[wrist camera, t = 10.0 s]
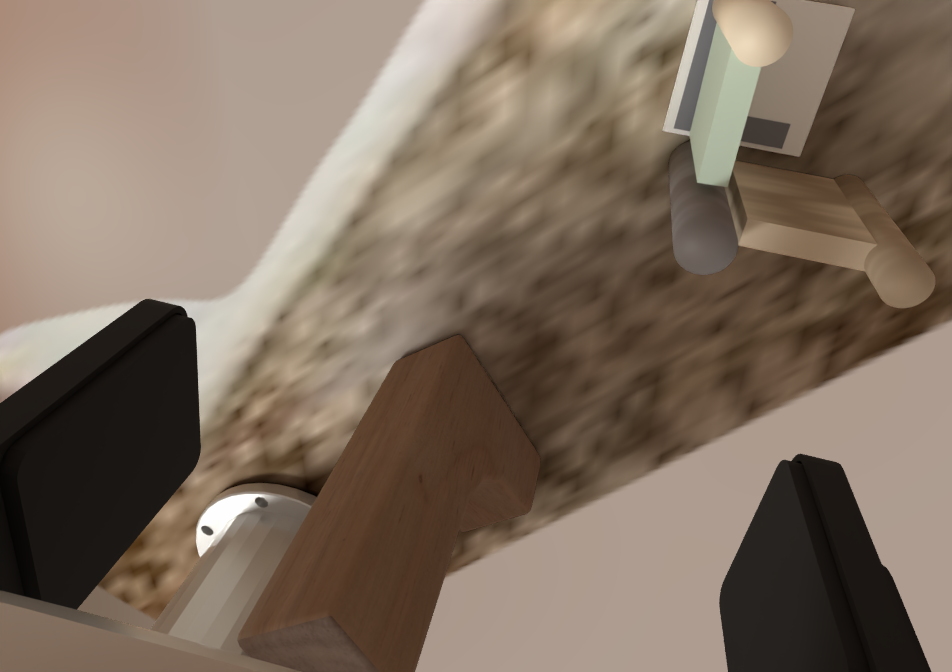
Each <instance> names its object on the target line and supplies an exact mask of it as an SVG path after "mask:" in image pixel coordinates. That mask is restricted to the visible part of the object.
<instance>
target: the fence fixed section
mask: <svg viewBox="0 0 952 672" xmlns="http://www.w3.org/2000/svg"><path fill="white" fill-rule="evenodd" d="M668 169H669V186H670V204H671V221H672V238H673V252H674V256H675V259H676V260H677V262H678V263H679V265H680V266H681V267H682V268H684V269H685V270H687V271H688V272H691V273H694V274H698V275H709V274H714V273H717V272H719V271H721V270H723V269H725V268H726V267H727V266H728V265H729V264H730V263H731V262H732V261H733V259H734V258H735V256H736V254H737V250H738V246H743V247H748V248H753V249H758V250H763V251H767V252H772V253H777V254H782V255H787V256H792V257H797V258H802V259H807V260H811V261H816V262H821V263H826V264H831V265H836V266H841V267H846V268H851V269H855V270H860V271H865V272H866V274H867V276H868V277H869V279H870V281H871V282H872V284H873V286H874V288H875V289H876V291H877V293H878V294H879V296H880V298H881V299H882V300H883V301H884V302H885V303H886V304H887V305H889V306H892V307H895V308H909V307H913V306H916V305H918V304H920V303H922V302H923V301H925V300H926V299H927V298H928V297H929V296H930V295H931V293H932V292H933V290H934V287H935V276H934V273H933V272H932V270H931V269H930V268H929V266H928V265H927V264H926V263H925V261H924V260H923V259H922V257H921V256H920V255H919V254H918V252H917V251H916V250H915V248H914V247H913V246H912V245H911V243H910V242H909V241H908V239H907V238H906V237H905V235H904V234H903V233H902V232H901V230H900V229H899V228H898V226H897V225H896V224H895V223H894V221H893V220H892V219H891V217H890V216H889V215H888V214H887V212H886V211H885V210H884V208H883V207H882V206H881V204H880V203H879V202H878V201H877V199H876V198H875V197H874V195H873V194H872V193H871V192H870V190H869V189H868V188H867V186H866V185H865V184H864V183H863V181H862V180H861V179H860V178H858V177H856V176H853V175H842V176H839V177H837V178H835V179H830V178H825V177H820V176H814V175H809V174H804V173H799V172H794V171H788V170H783V169H778V168H773V167H768V166H762V165H757V164H752V163H747V162H742V161H736V160H735V163H734V166H733V170H732V173H731V177H730V180H729V184H728V187H723V186H716V185H709V184H703V183H697V179H696V172H695V166H694V160H693V154H692V148H691V141H688V142H685V143H683V144H681V145H680V146H678V147H677V148H676V149H675V150H674V151H673V153H672V154H671V156H670V159H669V163H668Z"/></svg>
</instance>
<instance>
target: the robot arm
mask: <svg viewBox="0 0 952 672" xmlns="http://www.w3.org/2000/svg"><path fill="white" fill-rule="evenodd" d="M200 450H201V443H200V418H199V394H198V369H197V344H196V326H195V322H194V320H193V319H192V318H189V317H187V313H186V311H185V309H184V308H183V307H181V306H177V305H173V304H169V303H165V302H160V301H156V300H152V299H145V300H143V301H141V302H139V303H138V304H137V305H135V306H134V307H133V308H131V309H130V310H128V311H127V312H126V313H124V314H123V315H122V316H120V317H119V318H117V319H116V320H115V321H113V322H112V323H110V324H109V325H108V326H106V327H105V328H104V329H102V330H101V331H99V332H98V333H97V334H95V335H94V336H92V337H91V338H90V339H88V340H87V341H86V342H84V343H83V344H81V345H80V346H79V347H77V348H76V349H75V350H73V351H72V352H70V353H69V354H68V355H66V356H65V357H63V358H62V359H61V360H59V361H58V362H57V363H55V364H54V365H52V366H51V367H50V368H48V369H47V370H46V371H44V372H43V373H41V374H40V375H39V376H37V377H36V378H34V379H33V380H32V381H30V382H29V383H28V384H26V385H25V386H23V387H22V388H21V389H19V390H18V391H16V392H15V393H14V394H12V395H11V396H10V397H8V398H7V399H5V400H4V401H3V402H1V403H0V672H301V671H297V670H294V669H290V668H286V667H283V666H279V665H276V664H272V663H269V662H265V661H261V660H258V659H254V658H251V657H249V656H248V655H247V654H246V653H245V652H244V650H243V649H242V648H241V647H240V646H239V643H238V641H237V639H238V634H239V632H240V630H241V629H242V627H243V625H244V623H245V622H246V620H247V618H248V617H249V615H250V613H251V611H252V610H253V608H254V606H255V604H256V603H257V601H258V599H259V597H260V596H261V594H262V592H263V590H264V589H265V587H266V585H267V583H268V582H269V580H270V578H271V577H272V575H273V573H274V571H275V570H276V568H277V566H278V564H279V563H280V561H281V559H282V557H283V556H284V554H285V552H286V550H287V549H288V547H289V545H290V543H291V542H292V540H293V538H294V537H295V535H296V533H297V531H298V530H299V528H300V526H301V524H302V523H303V521H304V519H305V517H306V516H307V514H308V512H309V510H310V509H311V507H312V505H313V503H314V502H315V500H316V498H317V497H316V496H314V495H311V494H309V493H306V492H304V491H301V490H298V489H296V488H291V487H287V486H283V485H279V484H268V483H251V484H243V485H239V486H236V487H232V488H229V489H227V490H226V491H224V492H222V493H220V494H219V495H217V496H216V497H215V498H214V499H213V500H212V501H211V502H210V503H209V505H208V506H207V508H206V509H205V511H204V512H203V513H202V515H201V516H200V518H199V521H198V523H197V527H196V544H197V549H198V553H199V555H200V559H199V561H198V562H197V563H196V565H195V566H194V568H193V569H192V571H191V572H190V573H189V575H188V576H187V578H186V579H185V581H184V582H183V583H182V585H181V586H180V588H179V589H178V591H177V592H176V593H175V595H174V596H173V598H172V599H171V601H170V602H169V603H168V605H167V606H166V608H165V609H164V611H163V612H162V613H161V615H160V616H159V618H158V619H157V620H156V622H155V624H154V625H153V626H152V628H151V629H150V630H149V629H145V628H141V627H138V626H134V625H131V624H127V623H123V622H119V621H116V620H112V619H109V618H105V617H101V616H98V615H94V614H90V613H87V612H83V611H79V610H77V609H78V607H79V606H80V605H81V604H82V603H83V601H84V600H85V599H86V598H87V597H88V595H89V594H90V593H91V592H92V591H93V589H94V588H95V587H96V586H97V585H98V584H99V582H100V581H101V580H102V579H103V578H104V576H105V575H106V574H107V573H108V572H109V570H110V569H111V568H112V567H113V566H114V564H115V563H116V562H117V561H118V560H119V558H120V557H121V556H122V555H123V554H124V552H125V551H126V550H127V549H128V548H129V546H130V545H131V544H132V543H133V542H134V541H135V539H136V538H137V537H138V536H139V535H140V533H141V532H142V531H143V530H144V529H145V527H146V526H147V525H148V524H149V523H150V521H151V520H152V519H153V518H154V517H155V515H156V514H157V513H158V512H159V511H160V509H161V508H162V507H163V506H164V505H165V503H166V502H167V501H168V500H169V499H170V498H171V496H172V495H173V494H174V493H175V492H176V490H177V489H178V488H179V487H180V486H181V484H182V483H183V482H184V481H185V480H186V478H187V477H188V476H189V475H190V474H191V472H192V471H193V470H194V468H195V466H196V464H197V462H198V460H199V456H200ZM719 604H720V614H721V621H722V629H723V636H724V644H725V652H726V659H727V667H728V672H931V670H930V667H929V665H928V663H927V660H926V658H925V656H924V653H923V650H922V648H921V645H920V643H919V641H918V638H917V636H916V634H915V631H914V628H913V626H912V624H911V621H910V619H909V617H908V614H907V612H906V609H905V607H904V604H903V602H902V599H901V597H900V594H899V592H898V590H897V587H896V585H895V582H894V580H893V577H892V576H891V574H890V572H889V571H888V569H887V568H886V567H884V566H883V565H882V564H881V562H880V559H879V557H878V554H877V552H876V549H875V547H874V544H873V542H872V539H871V537H870V534H869V532H868V529H867V527H866V524H865V522H864V519H863V517H862V515H861V512H860V510H859V507H858V504H857V502H856V499H855V497H854V495H853V492H852V490H851V487H850V485H849V482H848V480H847V477H846V475H845V472H844V470H843V468H842V466H841V465H840V464H839V463H837V462H833V461H829V460H825V459H820V458H816V457H812V456H808V455H803V454H798V455H796V456H795V457H794V458H793V460H792V461H787V460H782V461H781V462H780V463H779V465H778V466H777V468H776V470H775V473H774V475H773V477H772V479H771V481H770V483H769V485H768V487H767V490H766V492H765V494H764V496H763V498H762V500H761V502H760V505H759V507H758V509H757V511H756V513H755V515H754V517H753V520H752V522H751V524H750V526H749V528H748V530H747V532H746V534H745V537H744V539H743V541H742V543H741V545H740V548H739V550H738V552H737V554H736V556H735V558H734V560H733V562H732V564H731V567H730V569H729V571H728V573H727V575H726V577H725V580H724V582H723V584H722V588H721V592H720V602H719Z"/></svg>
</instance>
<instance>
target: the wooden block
mask: <svg viewBox="0 0 952 672" xmlns="http://www.w3.org/2000/svg"><path fill="white" fill-rule="evenodd" d="M540 463H541V461H540V456H539V454H538V453H537V451H536V450H535V448H534V447H533V445H532V443H531V442H530V440H529V439H528V437H527V436H526V434H525V433H524V431H523V430H522V428H521V426H520V425H519V423H518V422H517V420H516V419H515V417H514V416H513V414H512V412H511V411H510V409H509V408H508V406H507V405H506V403H505V402H504V400H503V399H502V397H501V395H500V394H499V392H498V391H497V389H496V388H495V386H494V385H493V383H492V382H491V380H490V378H489V377H488V375H487V374H486V372H485V371H484V369H483V368H482V366H481V364H480V363H479V361H478V360H477V358H476V357H475V355H474V354H473V352H472V351H471V349H470V347H469V346H468V344H467V343H466V341H465V340H464V338H463V337H462V336H460V335H456V336H453V337H451V338H448V339H446V340H444V341H441V342H439V343H437V344H435V345H432V346H430V347H428V348H425V349H423V350H421V351H418V352H416V353H414V354H411V355H409V356H407V357H405V358H402V359H400V360H398V361H396V362H395V363H394V364H393V366H392V368H391V370H390V371H389V373H388V375H387V376H386V378H385V380H384V382H383V383H382V385H381V387H380V389H379V390H378V392H377V394H376V395H375V397H374V399H373V401H372V402H371V404H370V406H369V408H368V409H367V411H366V413H365V415H364V416H363V418H362V420H361V422H360V423H359V425H358V427H357V429H356V430H355V432H354V434H353V435H352V437H351V439H350V441H349V442H348V444H347V446H346V448H345V449H344V451H343V453H342V455H341V456H340V458H339V460H338V462H337V463H336V465H335V467H334V469H333V470H332V472H331V474H330V476H329V477H328V479H327V481H326V483H325V484H324V486H323V488H322V490H321V491H320V493H319V495H318V497H317V498H316V500H315V502H314V503H313V505H312V507H311V509H310V510H309V512H308V514H307V516H306V517H305V519H304V521H303V523H302V524H301V526H300V528H299V530H298V531H297V533H296V535H295V537H294V538H293V540H292V542H291V543H290V545H289V547H288V549H287V550H286V552H285V554H284V556H283V557H282V559H281V561H280V563H279V564H278V566H277V568H276V570H275V571H274V573H273V575H272V577H271V578H270V580H269V582H268V583H267V585H266V587H265V589H264V590H263V592H262V594H261V596H260V597H259V599H258V601H257V603H256V604H255V606H254V608H253V610H252V611H251V613H250V615H249V617H248V618H247V620H246V622H245V623H244V625H243V627H242V629H241V630H240V632H239V634H238V639H237V641H238V643H239V646H240V647H241V648H242V649H243V650H244V652H245V653H246V654H247V655H248V656H249V657H251V658H254V659H258V660H261V661H265V662H269V663H272V664H276V665H279V666H283V667H286V668H290V669H294V670H297V671H301V672H415V670H416V667H417V663H418V660H419V657H420V654H421V651H422V648H423V644H424V641H425V638H426V635H427V631H428V629H429V625H430V622H431V619H432V616H433V613H434V609H435V606H436V603H437V600H438V597H439V594H440V590H441V587H442V584H443V581H444V578H445V574H446V571H447V568H448V565H449V562H450V559H451V555H452V552H453V549H454V546H455V543H456V539H457V536H458V533H459V531H461V532H466V531H470V530H473V529H477V528H480V527H483V526H487V525H490V524H494V523H497V522H500V521H504V520H507V519H511V518H514V517H517V516H521V515H524V514H526V513H528V512H529V511H530V510H531V507H532V502H533V497H534V492H535V487H536V482H537V477H538V473H539V468H540Z"/></svg>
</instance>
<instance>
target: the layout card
mask: <svg viewBox="0 0 952 672" xmlns="http://www.w3.org/2000/svg"><path fill="white" fill-rule="evenodd" d="M713 1H714V0H697V3H696V7H695V11H694V15H693V18H692V22H691V26H690V29H689V33H688V37H687V41H686V44H685V48H684V52H683V55H682V59H681V63H680V67H679V70H678V74H677V78H676V81H675V85H674V89H673V93H672V96H671V100H670V104H669V107H668V111H667V115H666V119H665V122H664V126H663V131H666V132H671V133H676V134H681V135H687V136H690V135H689V134H690V130H691V126H692V122H693V118H694V114H695V110H696V106H697V101H698V97H699V93H700V89H701V85H702V81H703V77H704V73H705V68H706V64H707V60H708V56H709V52H710V48H711V44H712V40H713V35H714V31H715V27H716V23H717V22H716V20H715V18H714V16H713V11H712V6H713ZM770 1H771V2H773V3H774V4H775V5H777V6H778V7H779V8H781V9H782V10H783V11H784V12H785V13H786V14H787V15H788V16H789V18H790V20H791V22H792V26H793V37H792V41H791V44H790V46H789V48H788V50H787V51H786V52H785V54H784V55H783V56H782V57H781V58H780V59H778V60H777V61H776V62H774V63H772V64H770V65H767V66H763V67H761V70H760V73H759V77H758V81H757V84H756V88H755V91H754V95H753V98H752V102H751V106H750V109H749V113H748V116H747V120H746V123H745V127H744V130H743V134H742V138H741V141H740V145H739V146H745V147H750V148H755V149H760V150H766V151H771V152H776V153H781V154H787V155H792V156H797V157H800V155H801V153H802V150H803V147H804V145H805V142H806V139H807V137H808V134H809V131H810V129H811V126H812V123H813V121H814V118H815V115H816V113H817V110H818V107H819V105H820V102H821V99H822V97H823V94H824V92H825V89H826V86H827V84H828V81H829V78H830V76H831V73H832V70H833V68H834V65H835V62H836V60H837V57H838V54H839V52H840V49H841V46H842V44H843V41H844V38H845V36H846V33H847V30H848V28H849V25H850V22H851V20H852V17H853V15H854V12H855V8H851V7H845V6H839V5H833V4H827V3H821V2H815V1H809V0H770Z"/></svg>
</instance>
